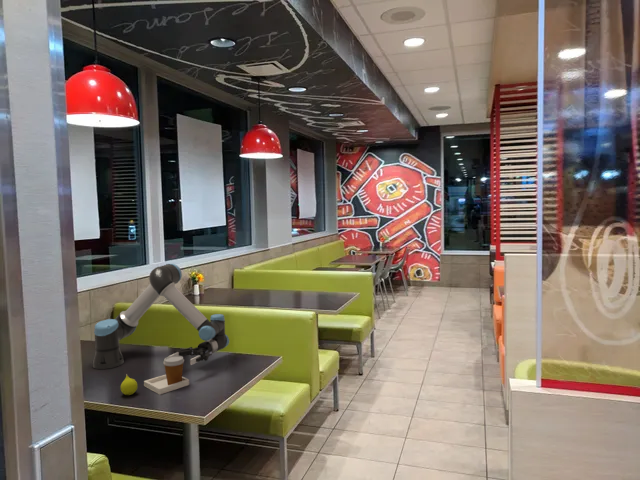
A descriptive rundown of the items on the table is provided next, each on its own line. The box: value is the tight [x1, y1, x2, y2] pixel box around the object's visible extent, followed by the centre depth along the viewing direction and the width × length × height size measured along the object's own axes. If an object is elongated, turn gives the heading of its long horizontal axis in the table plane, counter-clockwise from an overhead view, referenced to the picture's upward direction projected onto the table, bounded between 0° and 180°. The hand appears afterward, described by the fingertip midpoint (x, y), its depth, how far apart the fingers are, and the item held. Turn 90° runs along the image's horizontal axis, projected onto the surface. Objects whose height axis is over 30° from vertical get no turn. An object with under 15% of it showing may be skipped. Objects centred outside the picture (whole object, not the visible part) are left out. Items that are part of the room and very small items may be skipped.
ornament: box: [120, 373, 138, 396], centre depth 209 cm, size 7×7×10 cm
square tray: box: [143, 374, 190, 396], centre depth 219 cm, size 15×15×2 cm
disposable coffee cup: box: [162, 355, 185, 385], centre depth 219 cm, size 10×10×12 cm
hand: (179, 360), depth 227 cm, fingers open, 13 cm apart
